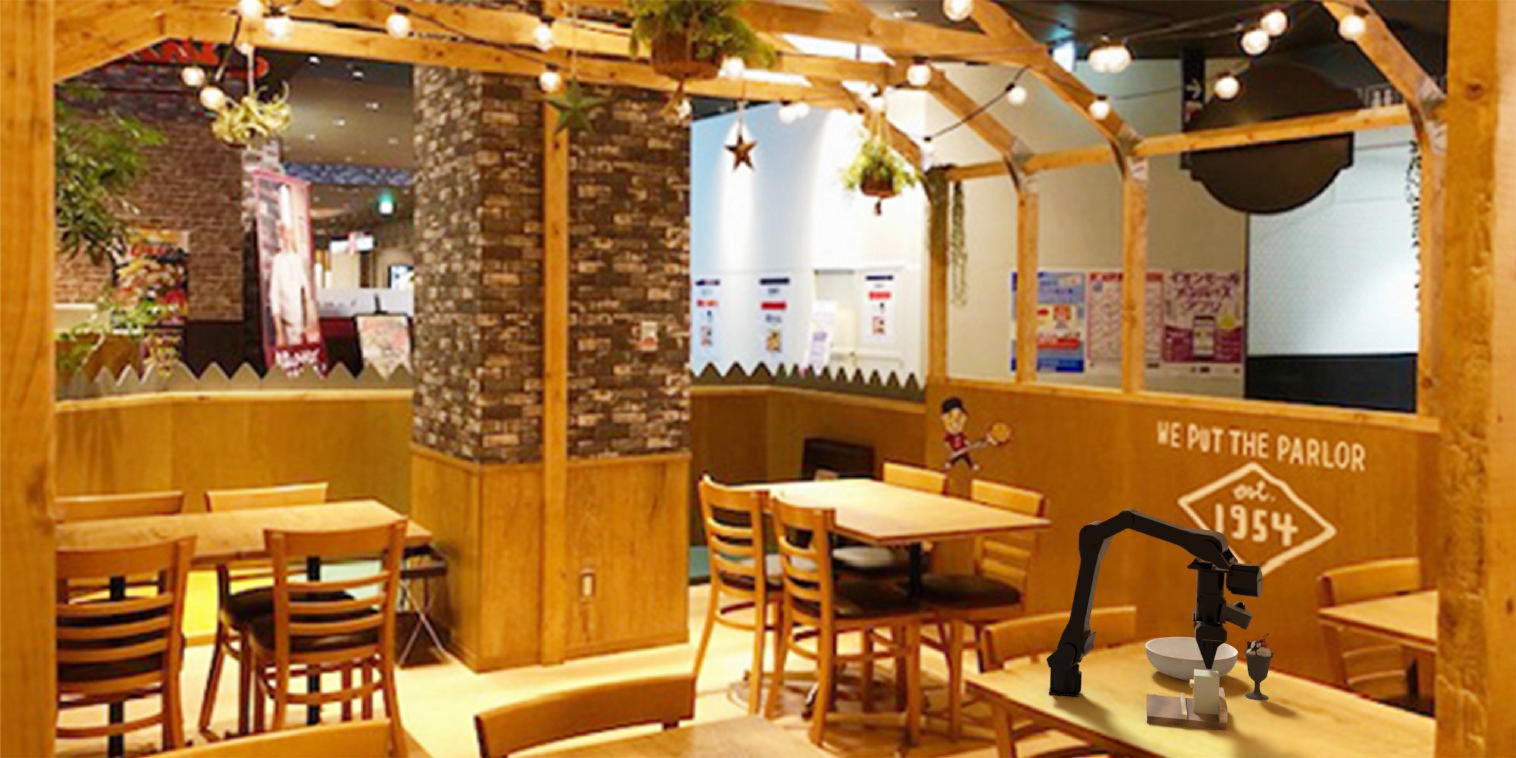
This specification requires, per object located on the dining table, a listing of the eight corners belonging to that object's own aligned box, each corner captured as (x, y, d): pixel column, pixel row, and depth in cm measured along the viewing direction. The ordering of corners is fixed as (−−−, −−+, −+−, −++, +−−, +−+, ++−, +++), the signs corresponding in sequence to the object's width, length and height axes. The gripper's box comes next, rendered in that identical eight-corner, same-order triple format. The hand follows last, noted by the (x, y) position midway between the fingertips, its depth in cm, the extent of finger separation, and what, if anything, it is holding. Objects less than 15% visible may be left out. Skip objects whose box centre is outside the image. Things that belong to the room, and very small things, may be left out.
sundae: (1275, 702, 305) (1278, 636, 304) (1243, 700, 306) (1246, 634, 305) (1270, 693, 311) (1273, 628, 310) (1239, 691, 313) (1241, 626, 312)
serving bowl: (1161, 659, 340) (1162, 631, 339) (1247, 674, 327) (1249, 645, 327) (1131, 677, 323) (1132, 649, 322) (1220, 694, 311) (1221, 664, 310)
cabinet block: (1189, 711, 292) (1190, 675, 292) (1188, 705, 297) (1189, 668, 296) (1218, 714, 291) (1219, 677, 290) (1216, 707, 295) (1218, 671, 295)
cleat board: (1146, 722, 289) (1147, 701, 289) (1146, 700, 305) (1147, 680, 304) (1226, 730, 285) (1227, 709, 285) (1222, 707, 300) (1223, 687, 300)
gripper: (1253, 603, 281) (1251, 678, 282) (1247, 584, 299) (1244, 655, 300) (1196, 599, 284) (1194, 673, 285) (1193, 581, 302) (1191, 651, 303)
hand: (1207, 663), depth 293 cm, fingers open, 9 cm apart
